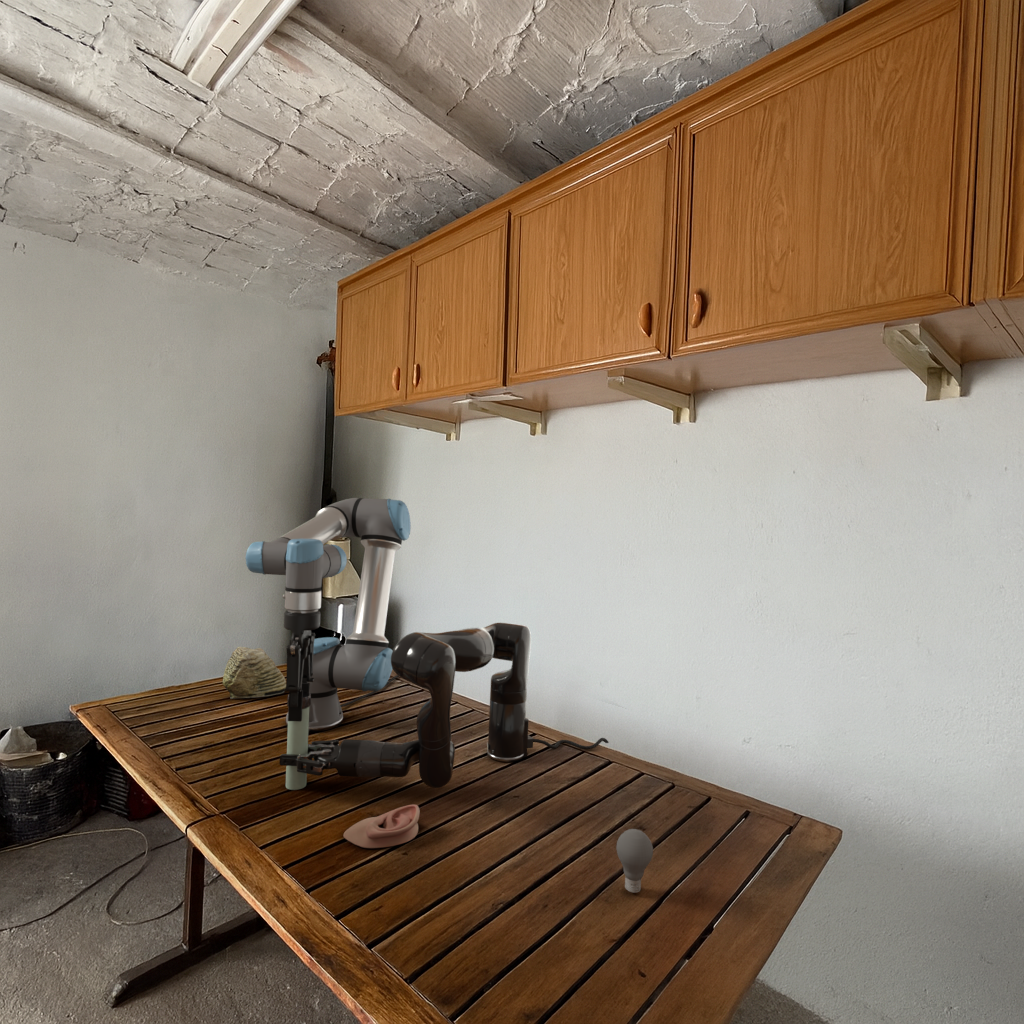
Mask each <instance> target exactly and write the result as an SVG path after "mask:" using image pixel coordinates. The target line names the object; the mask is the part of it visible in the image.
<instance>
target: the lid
mask: <svg viewBox="0 0 1024 1024" xmlns="http://www.w3.org/2000/svg"><path fill="white" fill-rule="evenodd" d="M286 701H287V703H286V706H287V708H289V694H288V695H287V699H286ZM310 705H311V694H310V693H308V692H303V704H302V709H303V708H307V707H309V706H310Z"/></svg>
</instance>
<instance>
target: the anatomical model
mask: <svg viewBox="0 0 1024 1024" xmlns="http://www.w3.org/2000/svg"><path fill="white" fill-rule="evenodd" d="M420 814H421V813H420V807H419V805H417V804H408V805H404V806H400V807H397V808H395V809H392V810H390V811H388V812H385V813H383V814H380V815H378V816H372V817H367V818H364V819H361V820H360V821H358V822H356V823H354V824H353V825H351V826H350V827H348V828H347V829H346V830H345V831H344V833H343V835H342V836H343V838H344V839H345V840H346V841H348V842H349V843H352V844H353V845H355V846H358V847H360V848H364V849H380V848H388V847H395V846H399V845H402V844H405V843H407V842H410V841H412V840H414V839H415V838H416V836H417V835H418V832H419V823H418V821H419V819H420Z"/></svg>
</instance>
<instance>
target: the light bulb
mask: <svg viewBox="0 0 1024 1024" xmlns="http://www.w3.org/2000/svg"><path fill="white" fill-rule="evenodd" d="M615 849H616V854H617V857H618V859H619V861H620V863H621V865H622V867H623V873H624V874H623V875H624V876H625V878H624V888H625V890H627V891H628V892H630V893H634V894H635V893H639V892H640V891H641V889H642V887H641V886H642V879H643V877H644V875H645V871H646V868H647V867H648V866H649V864H650V863H651V861H652V859H653V855H654V847H653V843H652V841H651V838H649V836H648V835H647V834H646V833H645V832H643V831H642V830H641V829H636V828H629V829H627V830H625V831H623V832H622V833H621V834H620V835H619V837H618V839H617V841H616V847H615Z"/></svg>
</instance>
